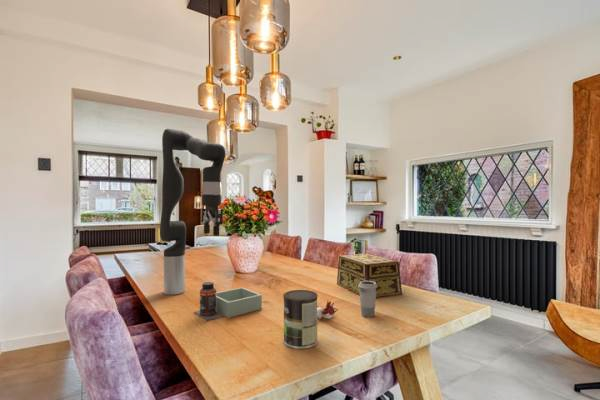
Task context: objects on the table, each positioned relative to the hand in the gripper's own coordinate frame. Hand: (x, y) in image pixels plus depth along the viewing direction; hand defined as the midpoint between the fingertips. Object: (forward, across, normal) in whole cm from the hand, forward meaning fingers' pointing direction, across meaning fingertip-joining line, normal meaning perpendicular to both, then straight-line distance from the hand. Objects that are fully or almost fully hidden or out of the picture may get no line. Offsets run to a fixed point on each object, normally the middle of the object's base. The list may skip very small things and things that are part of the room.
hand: (211, 234), depth 127 cm
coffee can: (+28, +47, +7) cm, 55 cm away
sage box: (+29, +7, +7) cm, 31 cm away
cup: (+28, +46, +40) cm, 67 cm away
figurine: (+28, +38, +26) cm, 54 cm away
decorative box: (+29, +24, +68) cm, 78 cm away
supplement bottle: (+29, +7, -4) cm, 30 cm away
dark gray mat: (+29, +7, -4) cm, 30 cm away
